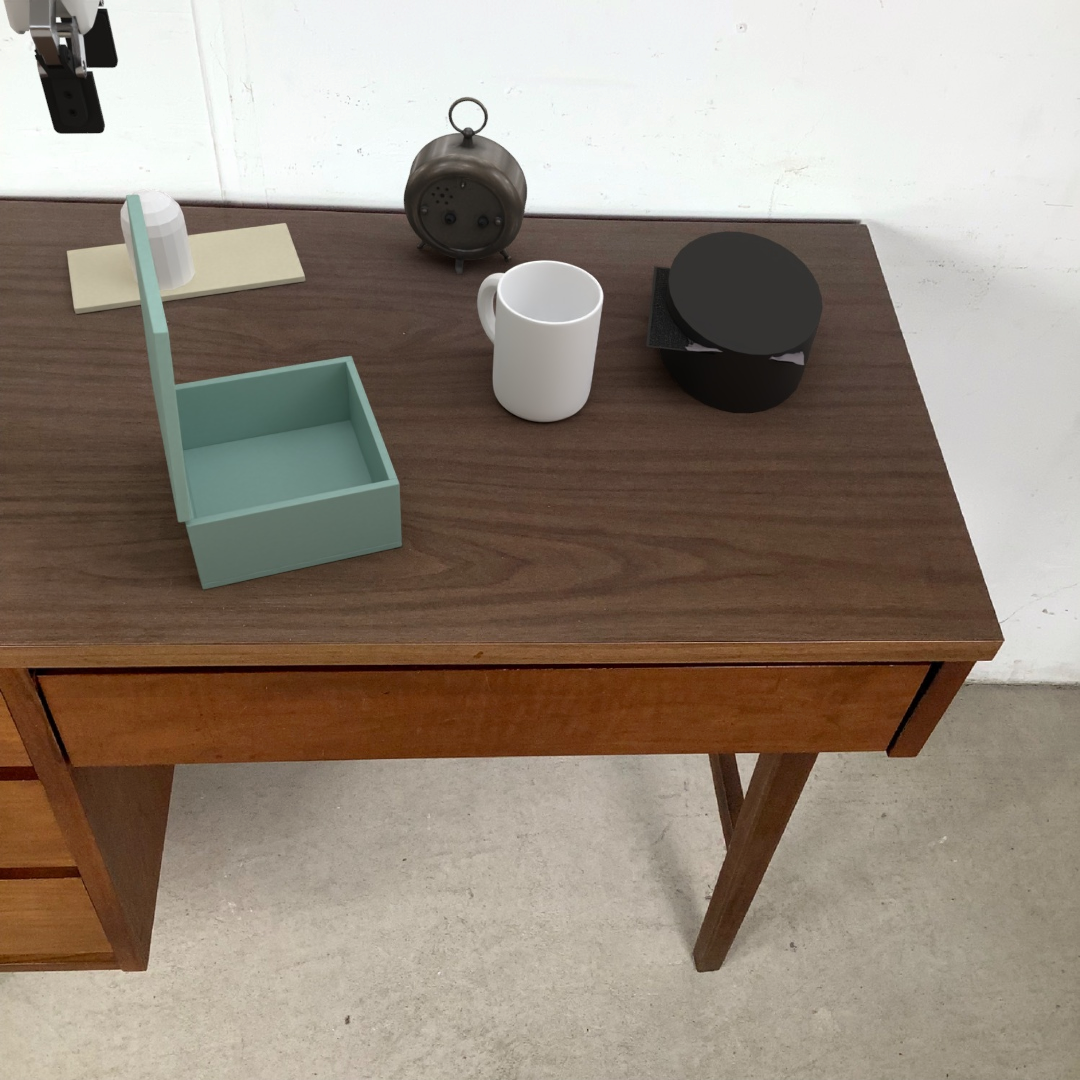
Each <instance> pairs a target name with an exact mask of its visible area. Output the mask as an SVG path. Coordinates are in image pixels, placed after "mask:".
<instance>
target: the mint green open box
mask: <svg viewBox="0 0 1080 1080" xmlns="http://www.w3.org/2000/svg"><path fill="white" fill-rule="evenodd" d="M175 391H176V399H177V407H178V416H179V424H180V432H181V441H182V449H183V457H184V466H185V474H186V482H187V491H188V499H189V507H190V516H191V520H190V521H185V522H184V524H185V529H186V532H187V537H188V539H189V544H190V547H191V550H192V555H193V558H194V562H195V566H196V570H197V573H198V577H199V581H200V584H201V588H202V590H208V589H214V588H218V587H222V586H226V585H232V584H236V583H240V582H245V581H250V580H255V579H259V578H264V577H268V576H272V575H278V574H281V573H286V572H291V571H296V570H300V569H305V568H309V567H314V566H318V565H323V564H327V563H332V562H336V561H340V560H346V559H351V558H356V557H361V556H364V555H370V554H374V553H378V552H383V551H387V550H393V549H397V548H402V546H403V541H402V540H403V539H402V515H401V512H402V511H401V486H400V485H401V483H400V481H399V479H398V477H397V473H396V471H395V468H394V465H393V463H392V461H391V458H390V455H389V452H388V450H387V446H386V444H385V441H384V439H383V436H382V434H381V431H380V428H379V426H378V423H377V420H376V417H375V414H374V412H373V410H372V407H371V404H370V401H369V399H368V395H367V393H366V391H365V388H364V385H363V383H362V380H361V378H360V375H359V373H358V369H357V366H356V364H355V362H354V359H353V356H352V355H348V356H342V357H341V356H340V357H336V358H335V357H334V358H329V359H323V360H317V361H310V362H306V363H299V364H298V363H297V364H293V365H287V366H280V367H274V368H268V369H262V370H257V371H250V372H245V373H239V374H233V375H226V376H220V377H214V378H209V379H208V378H207V379H203V380H196V381H190V382H184V383H183V382H182V383H178V384H175Z"/></svg>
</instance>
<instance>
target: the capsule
mask: <svg viewBox="0 0 1080 1080" xmlns="http://www.w3.org/2000/svg"><path fill="white" fill-rule="evenodd" d="M131 195H139V196H140V201H141V205H142V210H143V215H144V220H145V224H146V229H147V234H148V238H149V243H150V248H151V252H152V257H153V262H154V266H155V271H156V276H157V281H158V285H159V290H160V291H164V290H172V289H176V288H178V287H181V286H184V285H185V284H187V283H188V282H189V281H191V280H192V278H193V276H194V274H195V269H194V264H193V260H192V255H191V250H190V245H189V240H188V235H189V234H188V230H187V225H186V221H185V215H184V213H183V210H182V208H181V205H180V204H179V203H178V202H177V201H176V200H175V199H174V198H173V197H171V196H170V195H169V194H168V193H167V192H165V191H162V190H159V189H151V188H145V189H141V190H138V191H136V192H133V193H131ZM120 226H121V231H122V234H123V239H124V244H125V243H126V247H127V251H128V255H129V259H130V263H131V267H132V271H133V275H134V279H135V281H136V282H137V283H138V280H137V273H136V265H135V258H134V251H133V244H132V237H131V230H130V222H129V215H128V208H127V201H126V200H125V201H124V203H123V205H122V206H121V209H120Z"/></svg>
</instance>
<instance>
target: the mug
mask: <svg viewBox="0 0 1080 1080" xmlns="http://www.w3.org/2000/svg"><path fill="white" fill-rule="evenodd" d="M495 294H496V302H495V310H494V297H495ZM603 303H604V291H603V289H602V286H601V284H600V282H598V280H597V279H596V277H594V275H592V274H590V273H589V272H588V271H586V270H585V269H583V268H580V267H579V266H577V265H574V264H571V263H566V262H562V261H557V260H534V261H533V260H532V261H528V262H523V263H520V264H517V265H514V266H513V267H511V268H510V269H508V270H507V271H505V273H504V272H496V273H495V272H494V273H492V274H490V275H488V276H487V277H485V279H483V281H482V283H480V287H479V289H478V292H477V297H476V305H477V307H476V308H477V313H478V318H479V321H480V324H481V326H482V329H483V331H484V333H485V335H486V336H487V338H488V339H489V340H490V342H491V343H492V344H493V360H492V361H493V362H492V388H493V394H494V396H495V398H496V399H497V401H498V403H499V404H500V405H501V406H502V407H503V408H505V410H506V411H508V412H509V413H511V414H513V415H515V416H516V417H518V418H521V419H524V420H527V421H531V422H538V423H551V422H558V421H562V420H565V419H567V418H569V417H571V416H573V415H575V414H577V413H578V412H579V411H580V410H581V409H582V408H583V407H585V404H586V403H587V401H588V399H589V396H590V392H591V388H592V381H593V376H594V375H593V374H594V367H595V360H596V354H597V348H598V347H597V346H598V338H599V331H600V326H601V325H600V324H601V317H602V312H603Z"/></svg>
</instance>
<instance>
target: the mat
mask: <svg viewBox="0 0 1080 1080" xmlns="http://www.w3.org/2000/svg"><path fill="white" fill-rule="evenodd" d="M187 235H188V240H189V245H190V250H191V255H192V260H193V264H194V269H195V274H194V276H193V278H192V280H191V281H189V282H188V283H187V284H185V285H184V286H181V287H178V288H176V289H172V290H164V291H160V295H161V299H162V303H164V302H170V301H176V300H184V299H190V298H191V299H192V298H199V297H205V296H212V295H219V294H220V295H221V294H226V293H227V294H228V293H233V292H240V291H246V290H254V289H260V288H268V287H275V286H280V285H281V286H283V285H289V284H295V283H302V282H306V276H305V275H306V274H305V273H304V269H303V267H302V264H301V261H300V259H299V258H300V257H299V256H298V252H297V250H296V247H295V243H294V242H293V238H292V236H291V233H290V230H289V228H288V225H287V223H286V222H281V223H275V224H273V223H272V224H266V225H258V226H252V227H243V228H234V229H226V230H219V231H212V232H204V233H197V234H196V233H195V234H187ZM66 255H67V264H68V272H69V281H70V288H71V289H70V290H71V295H72V304H73V310H74V313H75V315H80V314H87V313H95V312H99V311H100V312H102V311H107V310H108V311H109V310H115V309H122V308H128V307H129V308H130V307H136V306H141V301H140V294H139V287H138V283H137V282H136V281H135V279H134V275H133V271H132V267H131V263H130V259H129V255H128V251H127V247H126V243H125V242H124V243H118V244H117V243H116V244H109V245H103V246H102V245H101V246H94V247H88V248H87V247H86V248H79V249H78V248H77V249H72V250H67V251H66Z"/></svg>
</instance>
